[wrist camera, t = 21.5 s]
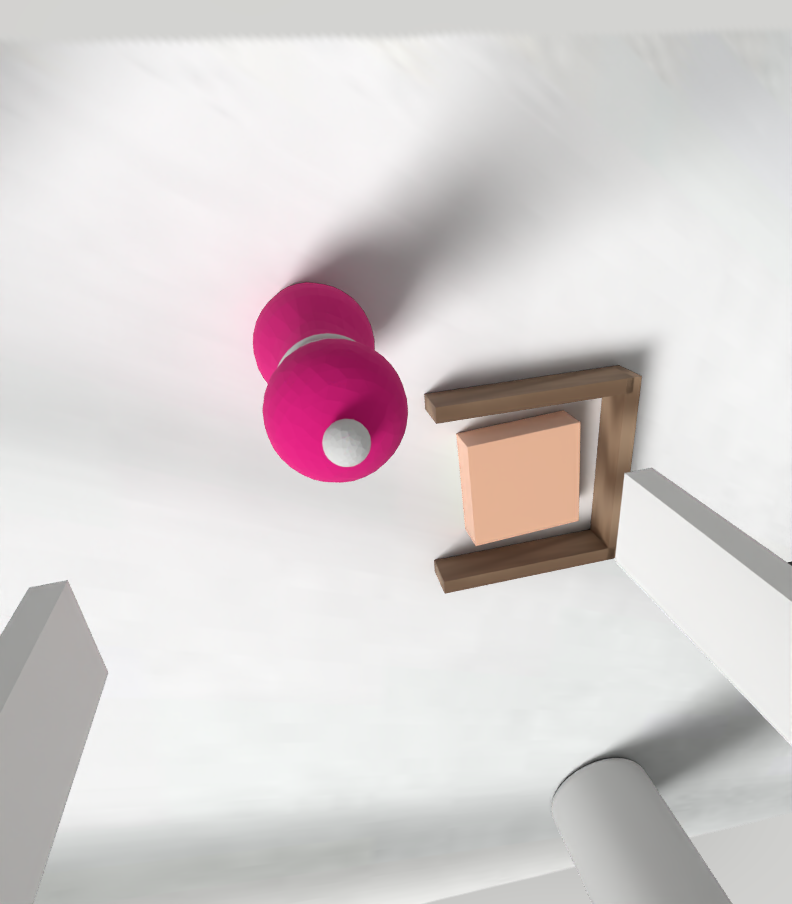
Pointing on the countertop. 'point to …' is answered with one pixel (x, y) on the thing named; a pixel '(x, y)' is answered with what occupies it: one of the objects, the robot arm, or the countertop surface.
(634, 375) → the walnut frame
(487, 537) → the terracotta tile
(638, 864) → the cylinder vase
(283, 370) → the pepper mill
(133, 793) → the countertop surface
